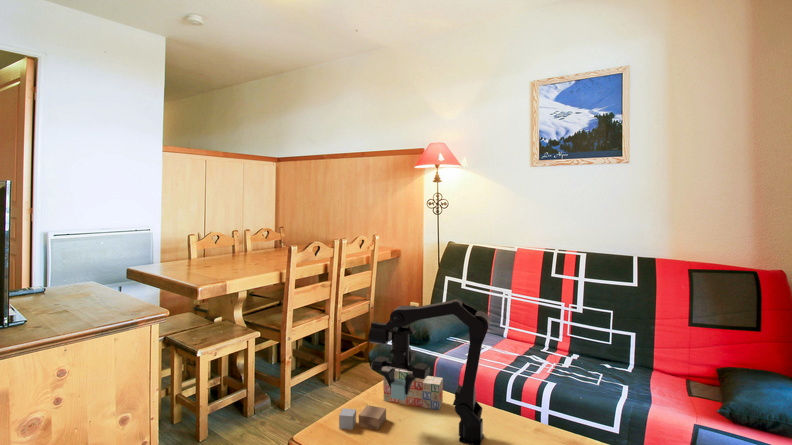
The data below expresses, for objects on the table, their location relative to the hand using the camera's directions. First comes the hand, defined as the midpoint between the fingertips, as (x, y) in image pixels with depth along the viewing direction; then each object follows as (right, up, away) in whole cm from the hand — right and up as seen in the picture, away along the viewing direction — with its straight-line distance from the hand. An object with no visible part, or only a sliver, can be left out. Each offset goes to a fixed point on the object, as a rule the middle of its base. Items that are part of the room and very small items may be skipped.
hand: (400, 392), depth 130 cm
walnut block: (-9, -11, +3) cm, 15 cm away
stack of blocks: (+5, -11, +17) cm, 21 cm away
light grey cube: (-17, -11, +1) cm, 21 cm away
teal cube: (0, -1, 0) cm, 1 cm away
